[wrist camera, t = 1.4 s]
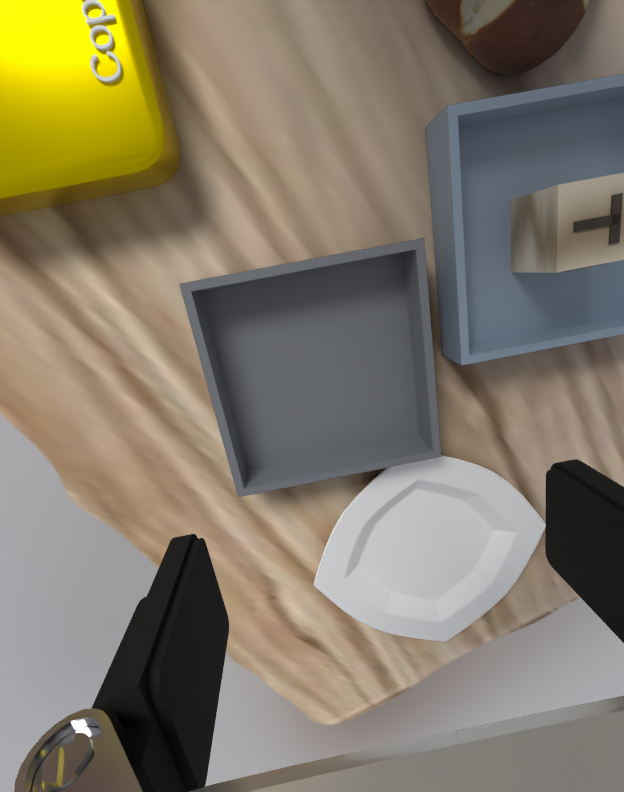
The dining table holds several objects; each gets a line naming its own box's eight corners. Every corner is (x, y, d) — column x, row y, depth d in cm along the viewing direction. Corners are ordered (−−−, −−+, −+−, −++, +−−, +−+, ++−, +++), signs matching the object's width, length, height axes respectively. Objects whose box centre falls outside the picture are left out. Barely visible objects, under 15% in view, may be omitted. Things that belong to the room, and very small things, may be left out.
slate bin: (425, 127, 26) (447, 105, 23) (653, 85, 26) (708, 58, 23) (441, 355, 31) (461, 365, 28) (633, 318, 32) (675, 324, 28)
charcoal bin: (191, 282, 28) (179, 283, 25) (406, 242, 28) (424, 237, 25) (242, 473, 33) (238, 497, 30) (424, 437, 33) (441, 456, 30)
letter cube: (510, 199, 27) (560, 184, 23) (578, 187, 28) (642, 168, 23) (511, 274, 29) (557, 274, 24) (575, 262, 29) (634, 260, 24)
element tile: (189, 181, 26) (171, 162, 22) (-28, 223, 26) (-93, 213, 22) (114, -113, 22) (70, -215, 17) (-153, -66, 22) (-269, -156, 17)
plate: (286, 577, 37) (286, 593, 35) (399, 414, 33) (406, 422, 31) (441, 643, 42) (449, 660, 40) (559, 505, 37) (574, 518, 35)
